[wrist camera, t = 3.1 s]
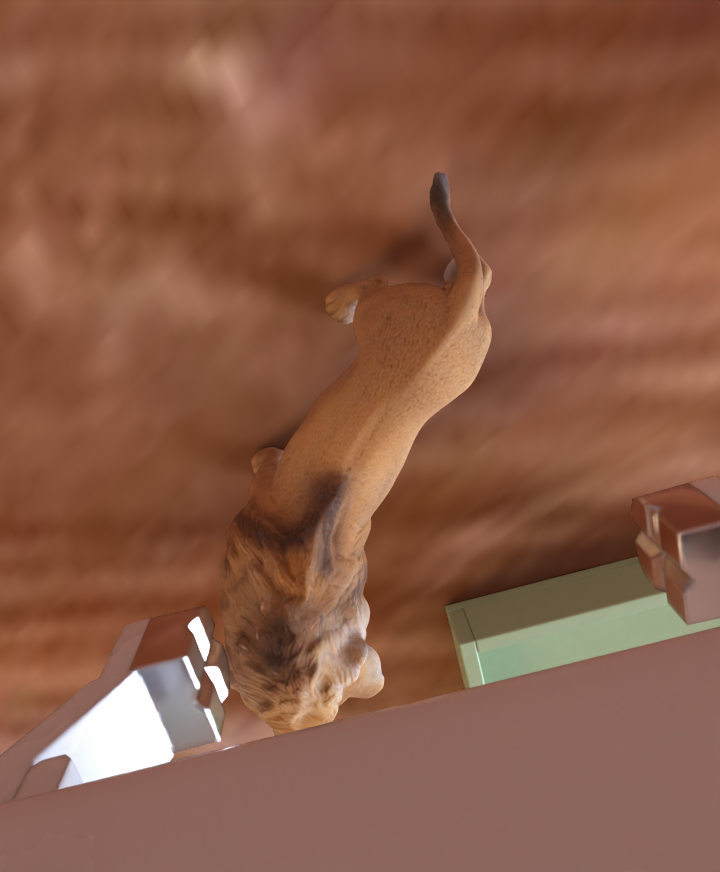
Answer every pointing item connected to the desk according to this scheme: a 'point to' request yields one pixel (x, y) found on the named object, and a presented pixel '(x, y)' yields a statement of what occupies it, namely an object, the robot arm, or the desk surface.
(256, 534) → the lion figurine
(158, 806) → the robot arm
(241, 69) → the desk surface
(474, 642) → the tray
